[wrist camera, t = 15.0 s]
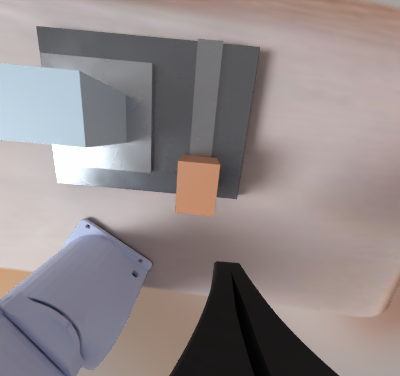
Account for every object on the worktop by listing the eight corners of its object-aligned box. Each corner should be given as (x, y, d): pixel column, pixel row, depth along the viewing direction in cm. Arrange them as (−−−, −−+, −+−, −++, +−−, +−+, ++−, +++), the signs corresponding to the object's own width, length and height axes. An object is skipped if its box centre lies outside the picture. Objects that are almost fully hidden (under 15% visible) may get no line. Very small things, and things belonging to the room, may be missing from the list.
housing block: (125, 94, 16) (79, 70, 10) (126, 142, 17) (85, 147, 11) (66, 88, 16) (-16, 61, 10) (71, 137, 17) (0, 139, 11)
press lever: (216, 157, 17) (220, 164, 13) (211, 198, 18) (214, 216, 14) (184, 154, 17) (177, 160, 13) (181, 195, 18) (175, 212, 14)
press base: (256, 53, 16) (262, 43, 14) (234, 195, 20) (237, 201, 18) (48, 33, 16) (29, 21, 14) (66, 179, 20) (52, 184, 18)
